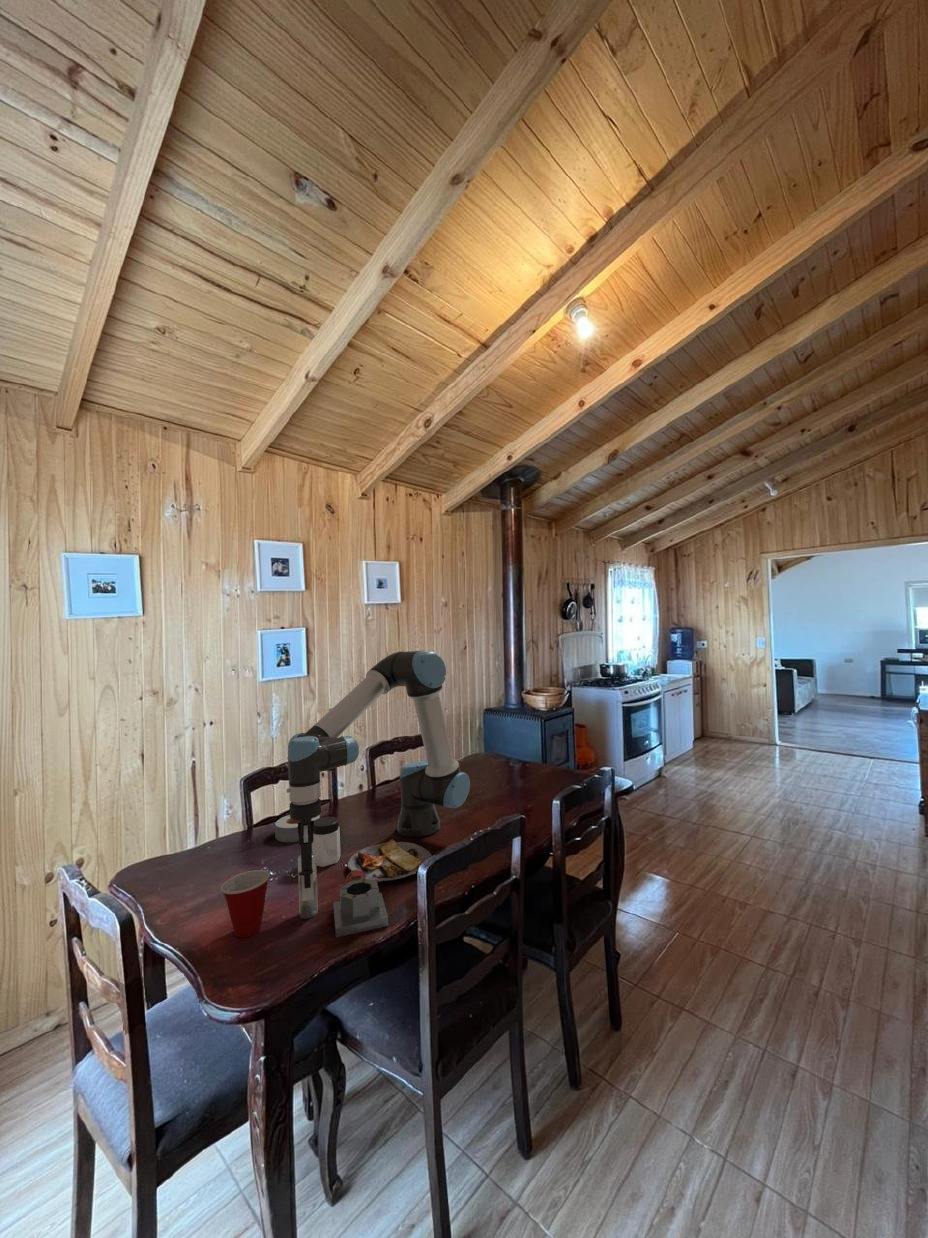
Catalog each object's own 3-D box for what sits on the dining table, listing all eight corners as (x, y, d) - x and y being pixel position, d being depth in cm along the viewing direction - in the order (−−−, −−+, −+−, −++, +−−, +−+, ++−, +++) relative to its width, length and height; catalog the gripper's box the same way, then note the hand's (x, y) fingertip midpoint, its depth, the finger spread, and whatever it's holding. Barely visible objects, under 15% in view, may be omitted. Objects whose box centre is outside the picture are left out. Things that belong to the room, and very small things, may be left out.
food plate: (336, 862, 149) (336, 850, 149) (403, 841, 162) (403, 831, 163) (372, 897, 129) (372, 884, 129) (445, 870, 142) (444, 858, 142)
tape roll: (265, 841, 169) (265, 826, 169) (293, 824, 183) (292, 810, 183) (303, 844, 164) (303, 829, 164) (328, 827, 179) (328, 813, 179)
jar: (315, 869, 145) (314, 829, 145) (308, 860, 151) (306, 821, 152) (344, 861, 150) (343, 821, 150) (336, 852, 156) (334, 814, 157)
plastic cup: (240, 916, 122) (238, 867, 122) (280, 918, 120) (278, 868, 120) (211, 943, 111) (209, 889, 111) (254, 946, 109) (252, 891, 110)
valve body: (379, 892, 130) (378, 865, 130) (388, 926, 114) (387, 895, 115) (333, 901, 126) (332, 874, 127) (335, 937, 111) (334, 906, 111)
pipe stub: (317, 907, 124) (316, 851, 125) (318, 916, 120) (316, 858, 121) (299, 910, 123) (297, 854, 123) (299, 920, 119) (297, 861, 119)
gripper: (290, 791, 130) (293, 880, 129) (287, 814, 113) (290, 916, 112) (320, 788, 132) (323, 875, 131) (321, 809, 115) (324, 909, 114)
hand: (308, 893), depth 122 cm, fingers open, 5 cm apart
